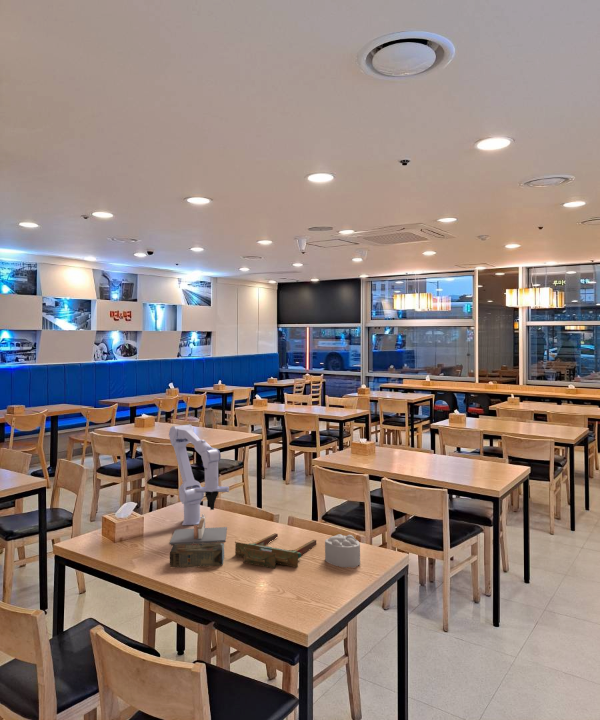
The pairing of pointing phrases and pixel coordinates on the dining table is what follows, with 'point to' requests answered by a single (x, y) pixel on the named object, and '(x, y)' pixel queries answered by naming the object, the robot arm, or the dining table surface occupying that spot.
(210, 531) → the grey plate with bar
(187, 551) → the dark olive rectangular block
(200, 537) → the gate
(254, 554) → the miniature gate
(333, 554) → the lumpy-topped squat cylinder
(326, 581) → the dining table surface
